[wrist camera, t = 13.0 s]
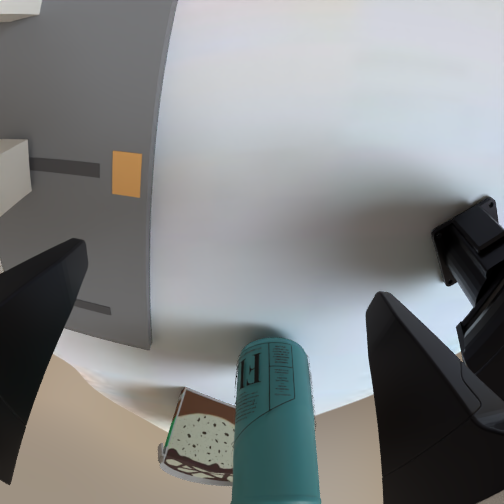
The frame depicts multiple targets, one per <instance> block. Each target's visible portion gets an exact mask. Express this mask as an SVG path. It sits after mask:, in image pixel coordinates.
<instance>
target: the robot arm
mask: <svg viewBox="0 0 504 504" xmlns="http://www.w3.org/2000/svg"><path fill="white" fill-rule="evenodd" d="M490 203H491V204H490ZM489 204H490V205H489ZM438 233H439V235H438V236H437V234H438ZM432 239H433V242H434V246H435V249H436V253H437V256H438V260H439V264H440V268H441V272H442V276H443V280H444V283H445V284H446V286H451V285H453V284H455V283H457V282H458V284H459V285H460V287H461V288H462V290H463V291H464V293H465V295H466V296H467V298H468V299H469V301H470V303H471V304H472V306H473V309H472V310H471V311H470V312H469V314H468V315H467V316H466V317H465V319H464V320H463V321H462V322H460V323H459V324H458V325H457V326H456V329H457V334H458V339H459V343H460V348H461V353H462V358H463V362H462V361H461V362H460V359H459V358H458V357H457V356H456V355H455V354H454V353H453V352H452V351H451V350H450V349H449V348H448V347H447V346H446V345H445V344H444V343H443V342H442V341H441V340H440V339H439V338H438V337H437V336H436V335H435V334H433V333H432V332H431V331H430V330H429V329H428V328H427V327H426V326H425V325H424V324H423V323H422V322H421V321H420V320H419V319H418V318H417V317H416V316H415V315H414V314H412V313H411V312H410V311H409V310H408V309H407V308H406V307H405V306H404V305H403V304H402V303H401V302H400V301H398V300H397V299H396V298H395V297H394V296H393V295H392V294H391V293H389V292H382V291H379V292H377V293H376V294H375V296H374V298H373V300H372V302H371V303H370V305H369V307H368V309H367V311H366V329H367V344H368V358H369V365H370V371H371V378H372V385H373V392H374V399H375V406H376V415H377V423H378V432H379V443H380V453H381V464H382V465H381V466H382V476H383V478H382V483H383V504H504V229H503V228H502V227H501V226H500V225H499V223H498V215H497V208H496V202H495V200H494V199H493V198H491V197H488V198H487V199H485V200H483V201H482V202H480V203H478V204H477V205H475V206H473V207H472V208H470V209H468V210H467V211H465V212H463V213H461V214H460V215H458V216H456V217H455V218H453V219H451V220H449V221H448V222H446V223H444V224H442V225H441V226H439V227H437V228H435V229H434V230H433V231H432ZM87 269H88V254H87V246H86V242H85V241H84V240H83V239H78V238H71V239H69V240H67V241H65V242H63V243H60V244H58V245H56V246H54V247H52V248H50V249H48V250H46V251H44V252H42V253H40V254H38V255H36V256H34V257H32V258H30V259H28V260H26V261H24V262H22V263H20V264H18V265H16V266H14V267H12V268H11V269H9V270H7V271H5V272H3V273H1V274H0V480H1V481H3V482H5V483H6V484H8V485H10V484H11V481H12V476H13V472H14V468H15V464H16V460H17V456H18V453H19V449H20V445H21V441H22V438H23V435H24V432H25V428H26V425H27V421H28V418H29V415H30V412H31V409H32V406H33V403H34V400H35V398H36V395H37V392H38V390H39V387H40V384H41V382H42V379H43V376H44V374H45V371H46V369H47V366H48V364H49V361H50V359H51V356H52V354H53V352H54V349H55V347H56V345H57V342H58V340H59V338H60V336H61V333H62V331H63V329H64V327H65V325H66V322H67V320H68V318H69V316H70V314H71V312H72V309H73V307H74V304H75V301H76V299H77V296H78V293H79V290H80V288H81V285H82V282H83V280H84V277H85V275H86V272H87Z"/></svg>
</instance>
